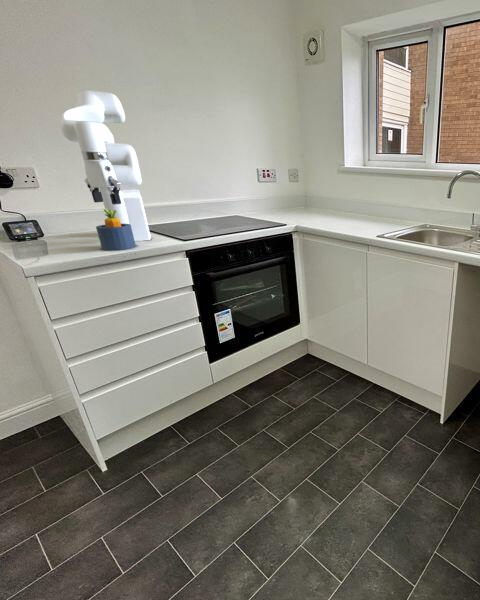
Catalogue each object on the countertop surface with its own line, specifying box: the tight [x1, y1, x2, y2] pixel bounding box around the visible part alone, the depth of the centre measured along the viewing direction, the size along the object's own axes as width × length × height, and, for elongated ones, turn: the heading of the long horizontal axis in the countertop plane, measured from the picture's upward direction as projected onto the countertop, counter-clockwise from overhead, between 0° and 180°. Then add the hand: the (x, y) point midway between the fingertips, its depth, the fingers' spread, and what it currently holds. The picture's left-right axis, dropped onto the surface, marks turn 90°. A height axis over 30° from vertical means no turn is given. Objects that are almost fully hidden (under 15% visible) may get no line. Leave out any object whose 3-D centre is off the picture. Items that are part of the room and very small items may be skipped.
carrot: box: [103, 208, 121, 228], centre depth 143 cm, size 5×5×15 cm
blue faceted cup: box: [95, 224, 137, 252], centre depth 144 cm, size 11×11×9 cm
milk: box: [122, 189, 152, 242], centre depth 157 cm, size 6×6×22 cm
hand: (107, 203), depth 140 cm, fingers open, 9 cm apart
